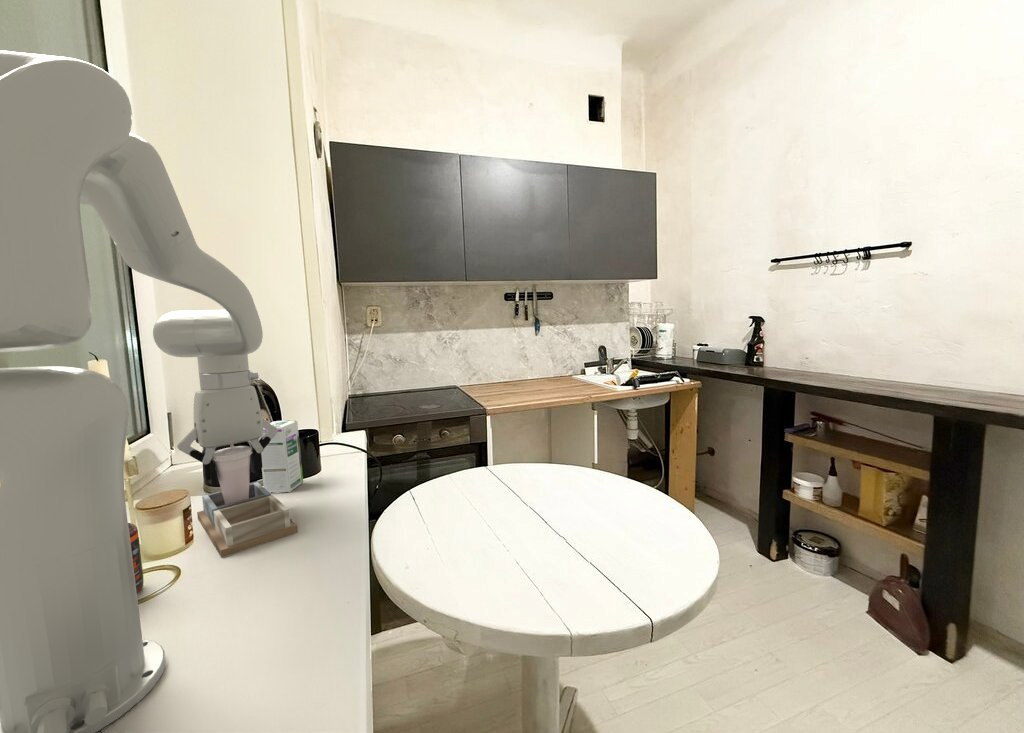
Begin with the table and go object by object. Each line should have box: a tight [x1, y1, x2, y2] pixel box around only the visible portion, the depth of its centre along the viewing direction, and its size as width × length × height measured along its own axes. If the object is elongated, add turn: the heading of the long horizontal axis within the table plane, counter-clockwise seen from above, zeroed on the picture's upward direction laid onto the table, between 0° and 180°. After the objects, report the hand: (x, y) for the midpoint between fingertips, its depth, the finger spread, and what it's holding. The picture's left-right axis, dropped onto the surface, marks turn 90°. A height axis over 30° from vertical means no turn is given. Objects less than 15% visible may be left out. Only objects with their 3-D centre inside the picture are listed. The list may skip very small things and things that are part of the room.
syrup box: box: [258, 419, 304, 493], centre depth 93 cm, size 6×6×14 cm
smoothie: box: [212, 444, 252, 505], centre depth 78 cm, size 6×6×14 cm
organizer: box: [196, 481, 299, 559], centre depth 76 cm, size 20×11×4 cm, turn 45°
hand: (234, 477), depth 79 cm, fingers closed on smoothie, 6 cm apart
